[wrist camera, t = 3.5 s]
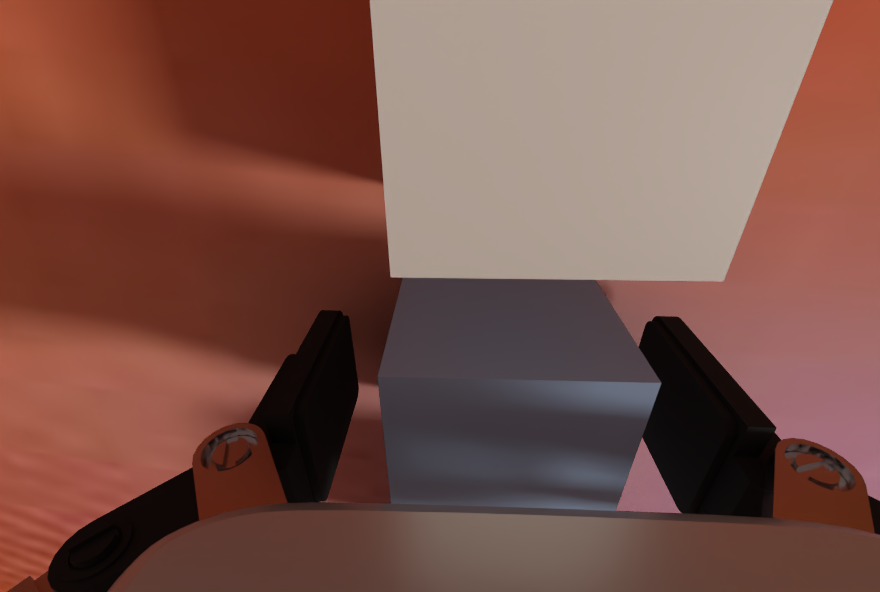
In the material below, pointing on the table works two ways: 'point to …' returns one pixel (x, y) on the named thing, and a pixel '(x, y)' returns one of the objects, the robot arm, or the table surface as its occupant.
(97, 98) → the table surface
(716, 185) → the cream block
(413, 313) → the slate block
